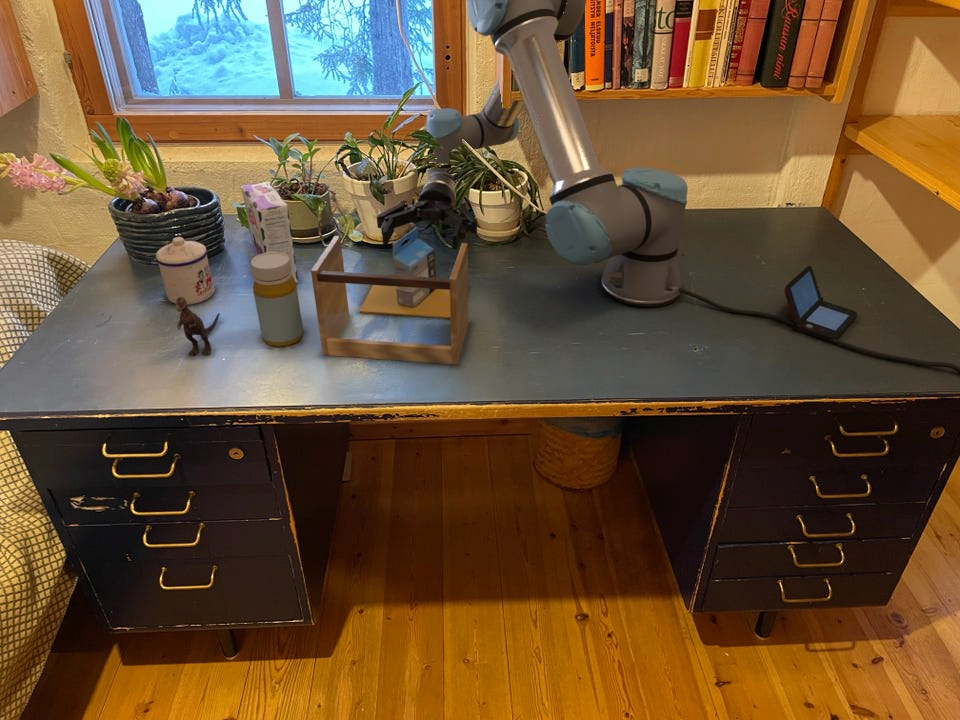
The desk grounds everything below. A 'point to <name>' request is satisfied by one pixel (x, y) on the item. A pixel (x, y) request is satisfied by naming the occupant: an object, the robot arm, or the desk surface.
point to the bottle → (276, 299)
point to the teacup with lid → (185, 271)
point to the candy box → (269, 222)
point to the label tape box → (413, 267)
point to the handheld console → (815, 308)
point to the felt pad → (386, 303)
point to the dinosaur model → (193, 327)
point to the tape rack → (333, 285)
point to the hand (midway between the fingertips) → (419, 240)
